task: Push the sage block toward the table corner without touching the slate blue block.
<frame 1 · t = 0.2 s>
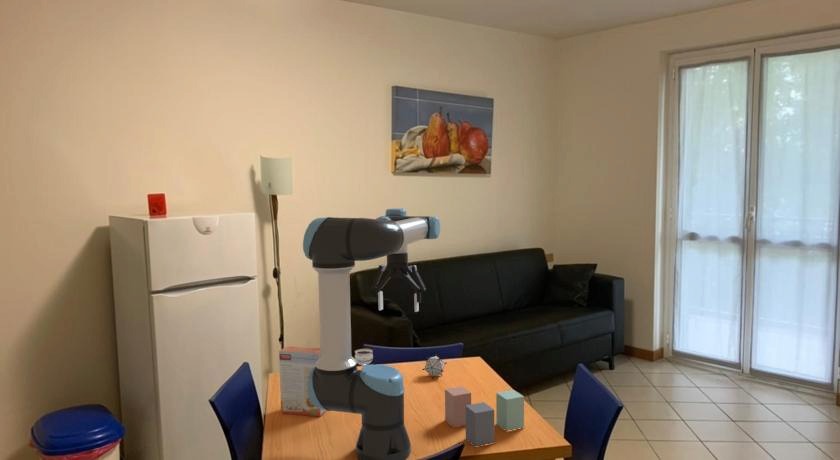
hand: (398, 310, 206), 28 cm above the table, tool pointing down, fingers open, 13 cm apart
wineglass: (364, 383, 212), on the table
slate blue block: (479, 441, 164), on the table
sage block: (509, 426, 174), on the table
terracotta block: (458, 422, 177), on the table
game die: (434, 376, 218), on the table
cracker box: (304, 412, 186), on the table
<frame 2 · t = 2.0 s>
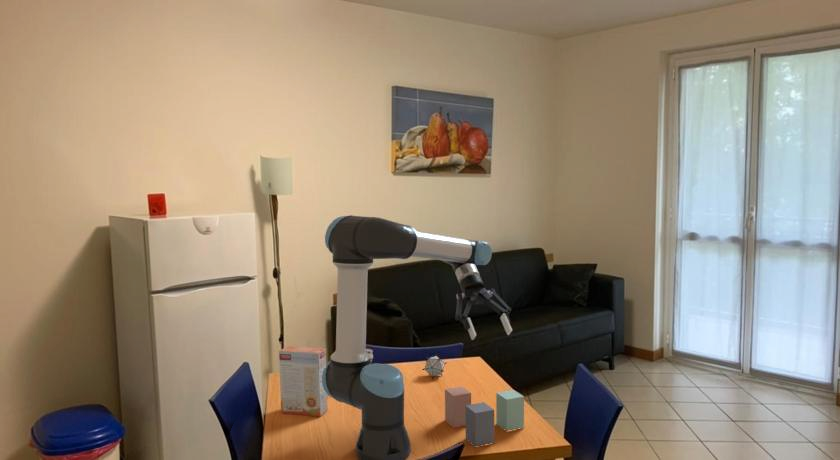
hand: (492, 335, 181), 26 cm above the table, tool tilted 45°, fingers open, 12 cm apart
nothing on the table moved.
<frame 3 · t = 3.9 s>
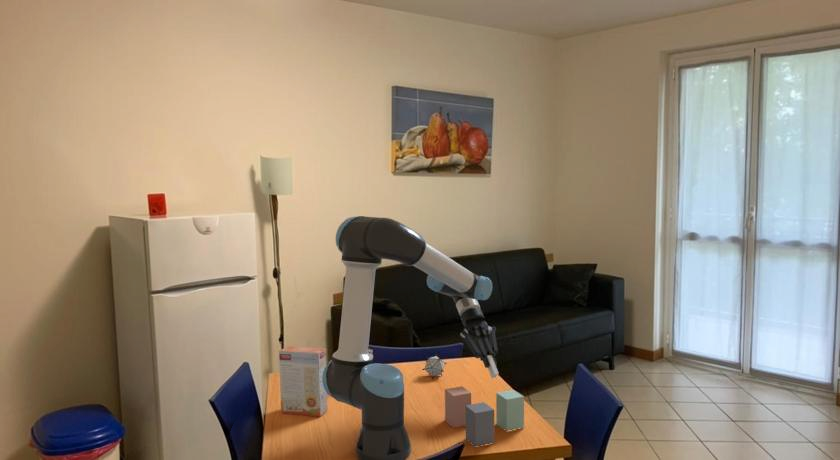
hand: (495, 375, 181), 13 cm above the table, tool tilted 45°, fingers closed
nothing on the table moved.
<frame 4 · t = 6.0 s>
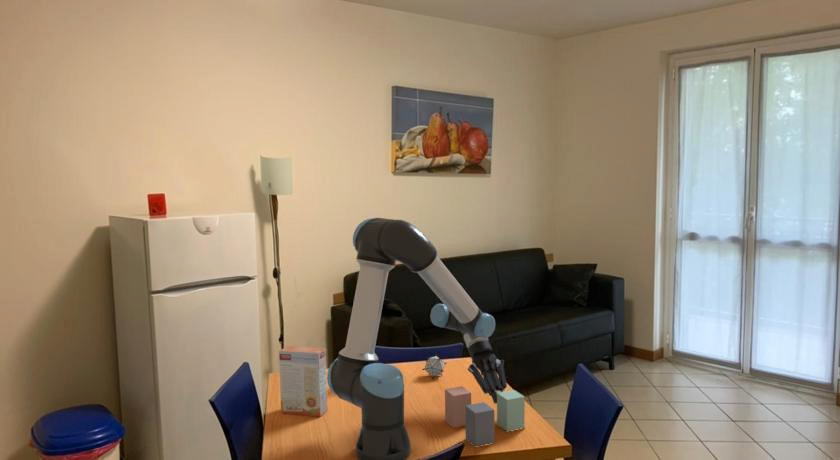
hand: (504, 412, 177), 3 cm above the table, tool tilted 45°, fingers closed
sage block: (510, 426, 173), on the table, touching gripper
everything else where it was.
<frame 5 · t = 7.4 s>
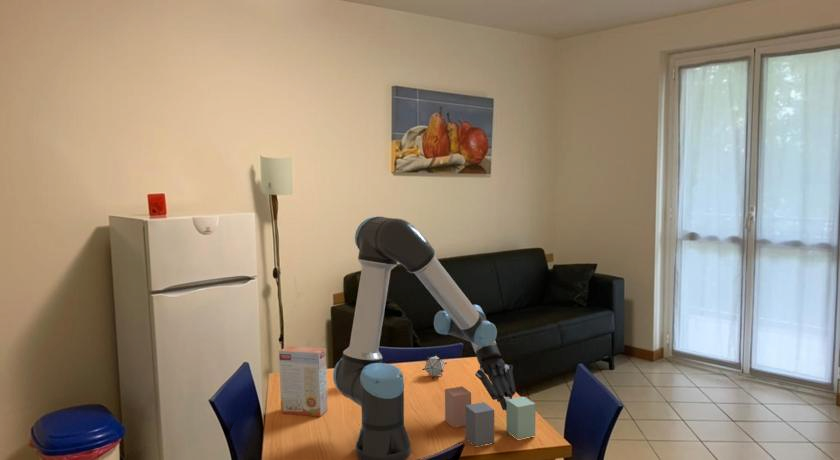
hand: (513, 419, 172), 3 cm above the table, tool tilted 45°, fingers closed
sage block: (520, 434, 168), on the table, touching gripper
everything else where it was.
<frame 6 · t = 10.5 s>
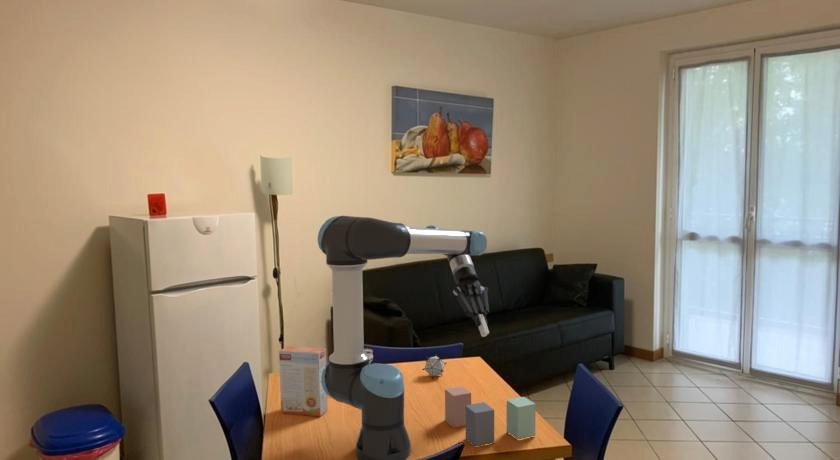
hand: (485, 334, 180), 26 cm above the table, tool tilted 40°, fingers closed
sage block: (520, 434, 168), on the table
everything else where it was.
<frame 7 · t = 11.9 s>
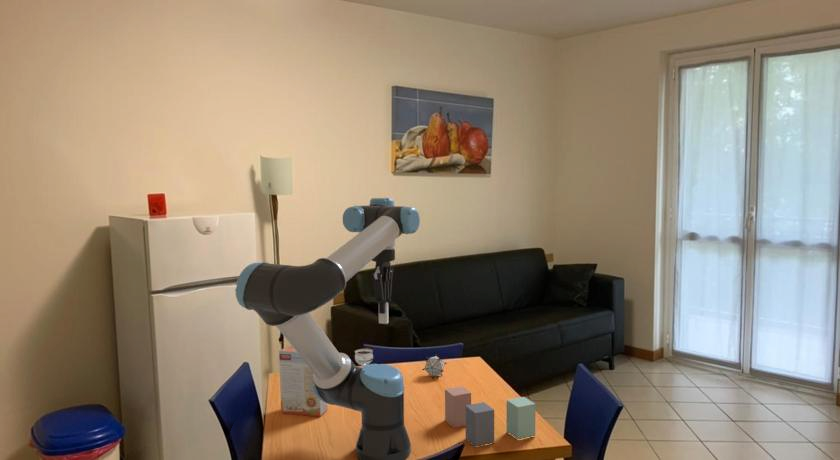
hand: (383, 322, 179), 30 cm above the table, tool pointing down, fingers closed
nothing on the table moved.
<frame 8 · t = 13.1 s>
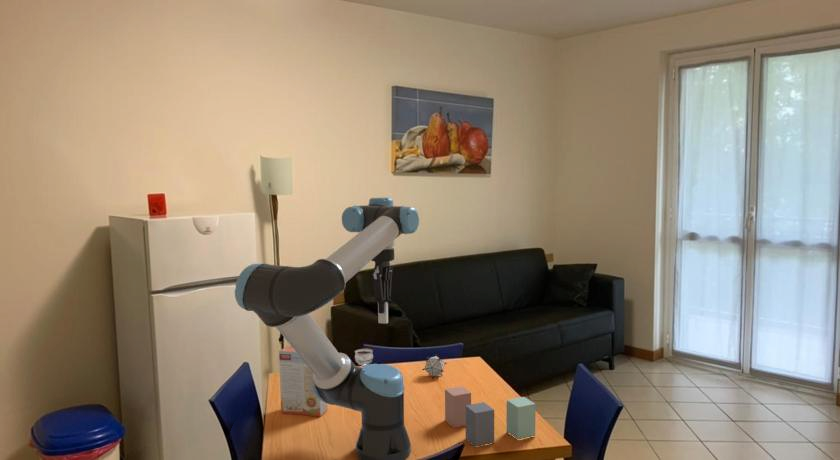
hand: (383, 322, 179), 30 cm above the table, tool pointing down, fingers closed
nothing on the table moved.
at the end: sage block moved 6.2 cm from its start; slate blue block moved 0.1 cm from its start; terracotta block moved 0.1 cm from its start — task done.
